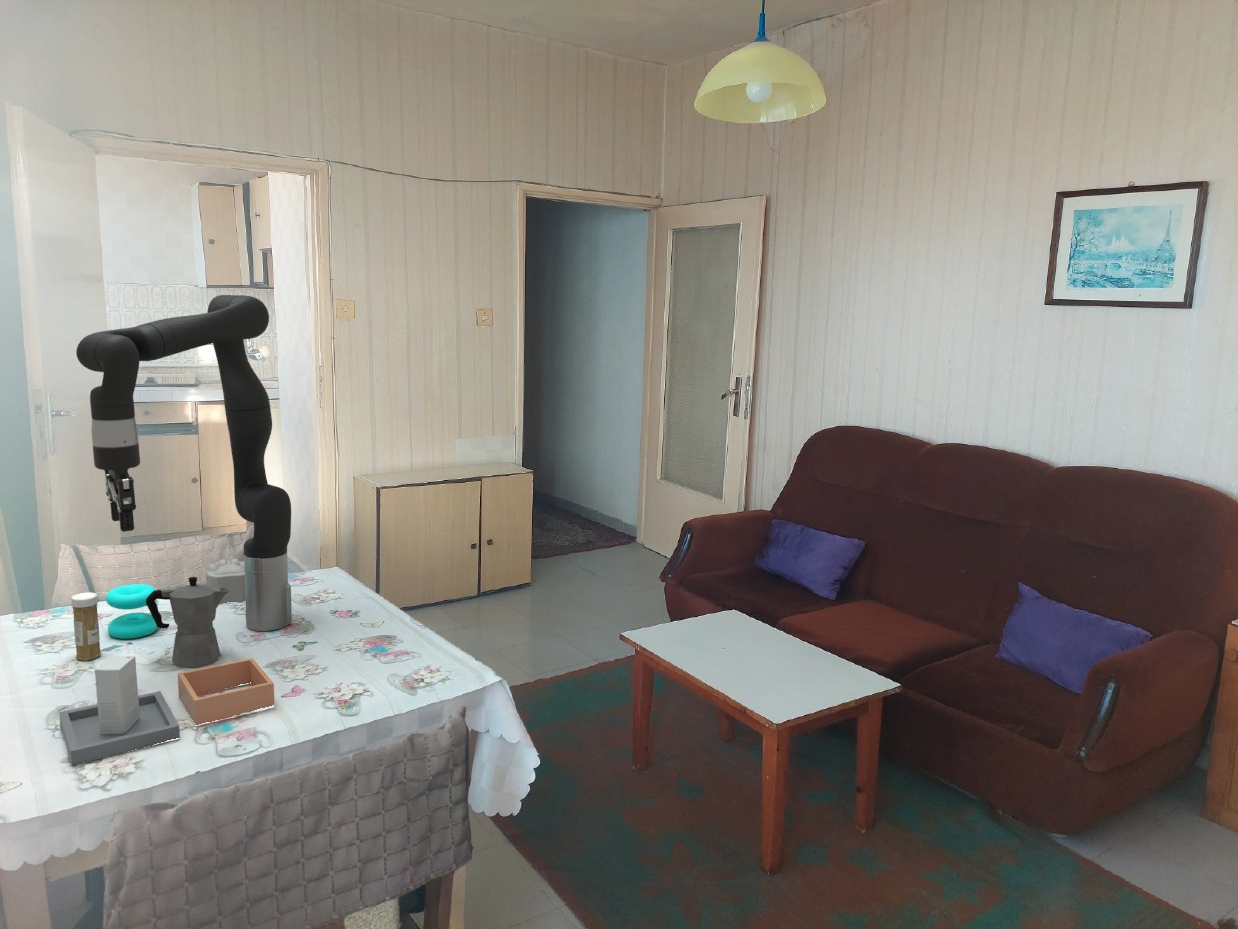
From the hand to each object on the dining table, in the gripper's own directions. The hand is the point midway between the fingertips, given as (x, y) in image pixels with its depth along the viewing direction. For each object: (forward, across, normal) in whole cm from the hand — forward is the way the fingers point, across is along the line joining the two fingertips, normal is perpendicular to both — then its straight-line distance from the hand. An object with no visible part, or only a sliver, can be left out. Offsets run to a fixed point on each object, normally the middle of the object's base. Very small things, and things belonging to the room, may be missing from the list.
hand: (122, 525), depth 168 cm
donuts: (+32, +26, -4) cm, 41 cm away
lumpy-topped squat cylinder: (+33, +40, -29) cm, 59 cm away
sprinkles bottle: (+32, +16, +6) cm, 36 cm away
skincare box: (+30, -22, +7) cm, 38 cm away
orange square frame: (+31, -20, -11) cm, 39 cm away
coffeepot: (+32, +4, -11) cm, 34 cm away
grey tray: (+31, -22, +7) cm, 39 cm away
